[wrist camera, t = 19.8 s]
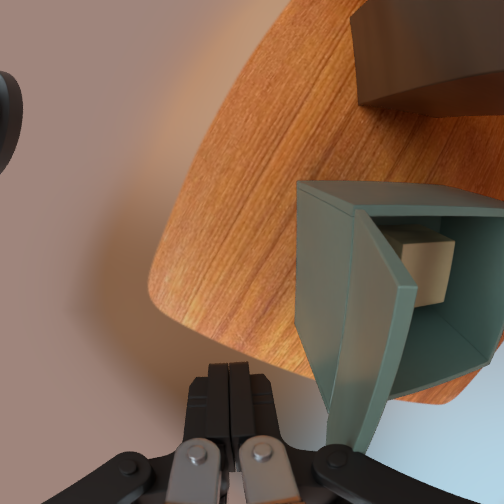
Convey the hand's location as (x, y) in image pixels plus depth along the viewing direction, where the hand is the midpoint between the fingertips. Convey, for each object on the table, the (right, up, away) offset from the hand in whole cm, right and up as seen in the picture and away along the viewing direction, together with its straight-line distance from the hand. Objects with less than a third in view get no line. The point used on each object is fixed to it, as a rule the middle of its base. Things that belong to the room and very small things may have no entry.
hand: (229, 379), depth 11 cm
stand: (+13, +20, +8) cm, 25 cm away
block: (+13, +5, +12) cm, 19 cm away
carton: (+11, +5, +13) cm, 18 cm away
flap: (+5, 0, -1) cm, 5 cm away
